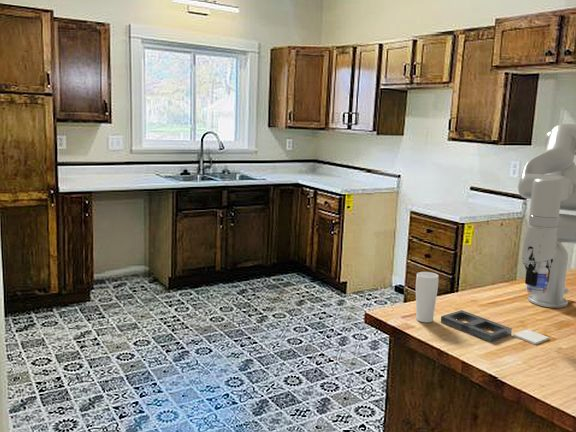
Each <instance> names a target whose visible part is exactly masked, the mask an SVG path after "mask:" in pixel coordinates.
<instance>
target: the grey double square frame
mask: <svg viewBox="0 0 576 432" xmlns="http://www.w3.org/2000/svg"><path fill="white" fill-rule="evenodd" d="M456 319H457V320H456ZM460 319H462V320H464V319H465V321H467V322H463V321H460ZM440 323H441V324H444V325H447V326H449V327H450V328H454V329H456V330H459V331H461V332H463V333H467V334H469V335H472V336H474V337H476V338H479V339H482V340H483V341H486V342H489V343H493V342H495V341H498V340H501V339H503V338H507V337H509V336H511V335H512V331H513V329H512V327H509V326H506V325H504V324H501V323H498V322H496V321H492V320H490V319H487V318H484V317H481V316H479V315H476V314H473V313H470V312H468V311H466V310H462V309H460V310H458V311H454V312H451V313H448V314H444V315H441V317H440ZM484 327H486V329H488V328H489V329H488V330H490V329H491V331H493V330H494V331H493V332H489V331H487V330H484Z"/></svg>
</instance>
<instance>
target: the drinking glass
mask: <svg viewBox="0 0 576 432" xmlns="http://www.w3.org/2000/svg"><path fill="white" fill-rule="evenodd" d="M438 288H439V274H437V273H435V272H430V271H420V272H419V271H418V272H416V278H415V309H416V310H415V311H416V315H415V318H416V320H417V321H418V322H420V323H431V322H433V321H434V316H435V314H434V313H435V310H436V309H435V307H436V303H437V296H438Z"/></svg>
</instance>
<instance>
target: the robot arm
mask: <svg viewBox="0 0 576 432" xmlns="http://www.w3.org/2000/svg"><path fill="white" fill-rule="evenodd" d="M575 156H576V123H560V124H557V125H555V126H553V128H552V129H551V130H549V131H548V132H546V133H545V136H544V152H541V153H539V154H537V155H535V156H534V157H533V158H531V159H530V160H528V161H527V162H526V163H525V164H524V166H523V168H522V171H521V174H520V178H519V180H518V185H517V189H518V190H517V191H518V195H520V196H521V197H522V198H524V199H529V200H530V205H529V206H530V207H529V215H528V226H527V227H526V231H525V235H524V240H523V246H522V254H521V259H522V263H523V265H524V267H525V280H524V283H525V285H527V284H528V285H531V286H536V285H537V276H538V273H537V272H536V271H537V268H538V265H539V262H544V261H547V265H546V266H545V267H546V268H547V269H548V271H549V272H548V282H547V291H546V294H545V295H534V294H530V293H529V295H528V298H527V300H528V301H529V302H530V303H532V304H534V305H537V306H541V307H545V308H550V309H551V308H553V309H559V308H560V309H561V308H566V307H567V306H568V304H569V301H568V300H567V299H566V298H565V294H568V293H569V288H567V287H566V280H567V278H566V277H567V270H568V261H569V254H568V251H567V249H566V248H565V246H564V245H563V243H568V244H576V214H568V213H567V214H566V213H560V211H566V212H576V163H575V162H574V159H575ZM532 259H535V260H534V261H532ZM531 263H535V264H534V267H533V265H532V264H531Z"/></svg>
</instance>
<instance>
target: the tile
mask: <svg viewBox="0 0 576 432" xmlns="http://www.w3.org/2000/svg"><path fill="white" fill-rule="evenodd" d="M512 337H514V338H516V337H517V338H516V339H519V340H522V341H524V342H527V343H530V344H533V345H535V346H536V345H538V344H540V343H543V342H546V341H548V340H549V339H550V337H549V336H547V335H543V334H541V333H539V332H535V331H533V330H531V329H524V330H522V331H519V332H515V333H513V335H512Z"/></svg>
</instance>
